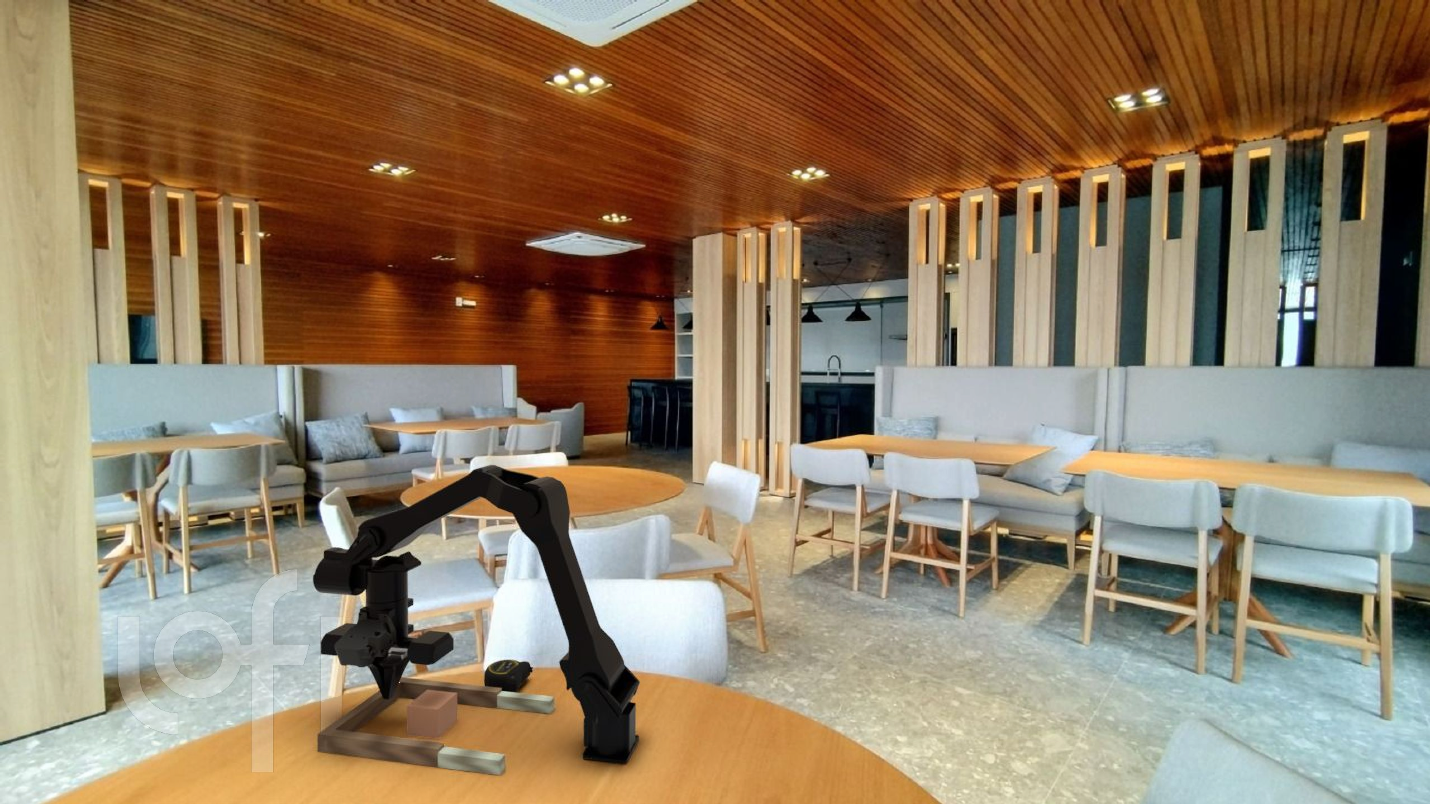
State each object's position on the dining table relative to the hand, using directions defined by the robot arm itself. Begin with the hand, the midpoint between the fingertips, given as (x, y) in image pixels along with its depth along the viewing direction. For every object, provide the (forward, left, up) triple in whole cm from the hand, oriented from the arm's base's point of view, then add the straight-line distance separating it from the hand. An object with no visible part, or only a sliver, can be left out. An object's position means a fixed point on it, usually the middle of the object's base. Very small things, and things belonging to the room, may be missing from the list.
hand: (388, 698), depth 100 cm
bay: (-9, 0, -4) cm, 10 cm away
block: (-7, 0, -4) cm, 8 cm away
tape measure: (-13, -14, -4) cm, 19 cm away
